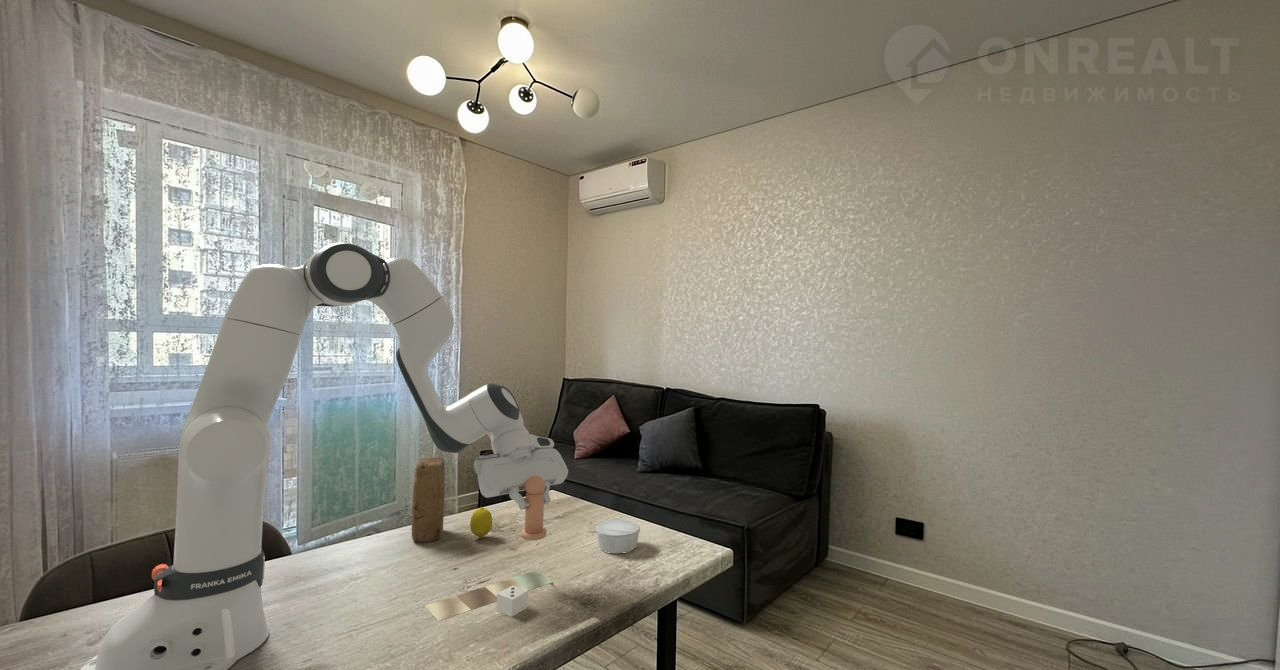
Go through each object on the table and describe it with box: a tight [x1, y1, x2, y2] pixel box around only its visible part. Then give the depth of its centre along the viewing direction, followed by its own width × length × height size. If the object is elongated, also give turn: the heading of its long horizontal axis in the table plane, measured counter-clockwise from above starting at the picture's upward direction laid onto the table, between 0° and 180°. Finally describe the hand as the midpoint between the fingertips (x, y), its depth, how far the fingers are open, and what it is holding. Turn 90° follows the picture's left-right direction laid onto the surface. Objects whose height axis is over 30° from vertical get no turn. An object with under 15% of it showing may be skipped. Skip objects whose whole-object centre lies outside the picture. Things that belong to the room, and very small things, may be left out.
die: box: [495, 586, 529, 618], centre depth 95 cm, size 4×4×4 cm
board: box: [424, 570, 554, 622], centre depth 101 cm, size 24×7×1 cm, turn 132°
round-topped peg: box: [520, 476, 547, 541], centre depth 107 cm, size 5×5×13 cm
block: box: [411, 457, 446, 543], centre depth 133 cm, size 11×8×20 cm
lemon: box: [469, 506, 493, 539], centre depth 132 cm, size 6×6×8 cm
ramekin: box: [595, 519, 641, 554], centre depth 128 cm, size 11×11×5 cm
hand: (536, 505), depth 107 cm, fingers closed on round-topped peg, 4 cm apart
